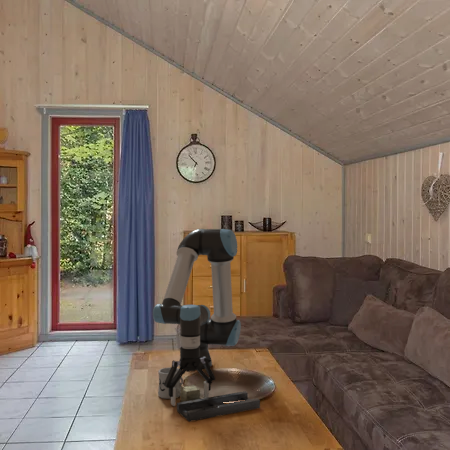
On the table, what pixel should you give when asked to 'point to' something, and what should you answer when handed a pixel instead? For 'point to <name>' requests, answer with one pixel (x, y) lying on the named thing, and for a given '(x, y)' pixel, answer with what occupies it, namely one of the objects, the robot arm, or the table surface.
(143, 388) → the table surface
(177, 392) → the mug
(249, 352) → the table surface
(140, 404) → the table surface
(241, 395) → the rail
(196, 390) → the brushed top tan cube
